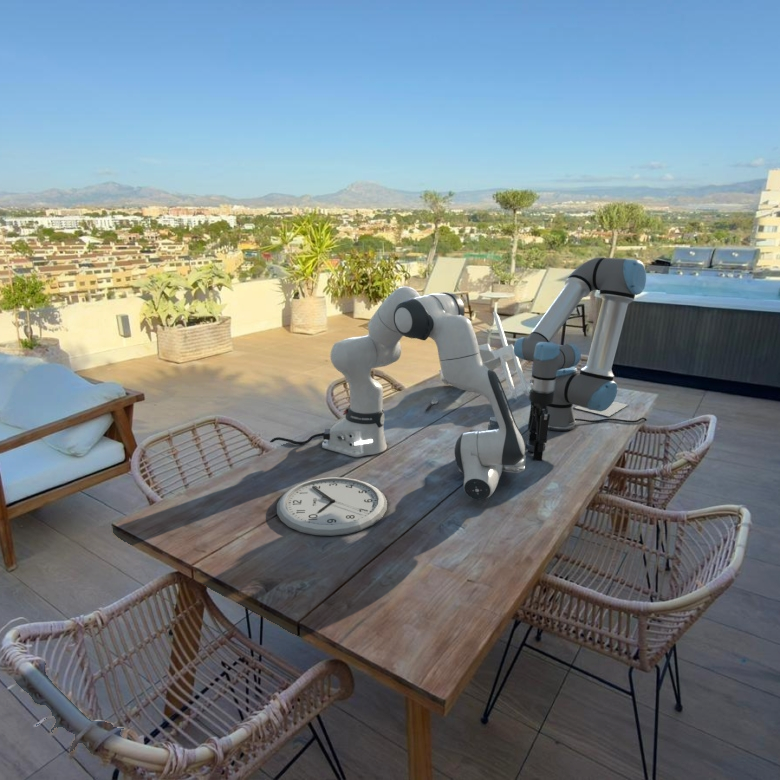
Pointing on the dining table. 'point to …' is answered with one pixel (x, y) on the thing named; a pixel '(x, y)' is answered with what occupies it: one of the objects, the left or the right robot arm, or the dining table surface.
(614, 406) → the invitation card
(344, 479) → the wall clock
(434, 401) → the fork
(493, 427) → the bottle
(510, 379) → the white plastic object
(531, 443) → the lid
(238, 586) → the dining table surface
